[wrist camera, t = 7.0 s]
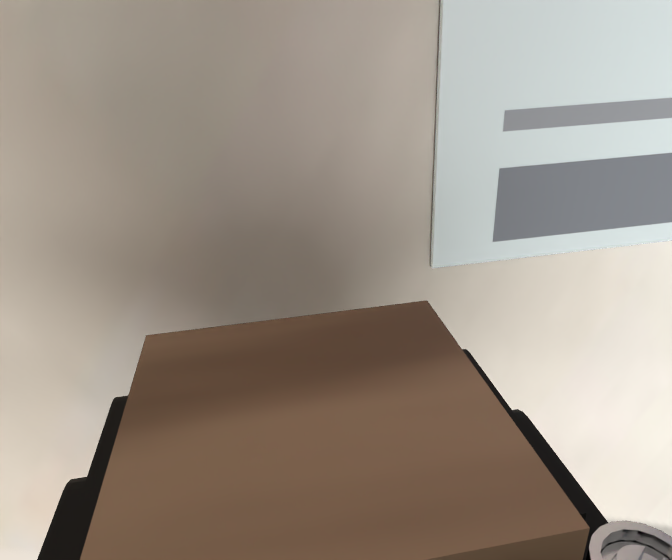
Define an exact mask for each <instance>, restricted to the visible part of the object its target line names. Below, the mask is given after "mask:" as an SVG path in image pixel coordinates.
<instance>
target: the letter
mask: <svg viewBox="0 0 672 560" xmlns="http://www.w3.org/2000/svg"><path fill="white" fill-rule="evenodd" d="M664 241H672V0H441V2H440V29H439V55H438V81H437V108H436V134H435V161H434V187H433V213H432V240H431V267H432V268H439V267H448V266H457V265H465V264H474V263H482V262H491V261H500V260H508V259H517V258H526V257H534V256H543V255H552V254H560V253H569V252H578V251H586V250H595V249H603V248H612V247H621V246H629V245H638V244H647V243H655V242H664Z"/></svg>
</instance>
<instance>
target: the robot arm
mask: <svg viewBox="0 0 672 560" xmlns="http://www.w3.org/2000/svg"><path fill="white" fill-rule="evenodd" d="M462 350H463V352H464V353H465V354H466V356H467V357H468V359H469V360H470V361H471V363H472V364H473V366H474V367H475V368H476V370H477V371H478V373H479V374H480V375H481V377H482V378H483V380H484V381H485V382H486V384H487V385H488V386H489V388H490V389H491V391H492V392H493V393H494V395H495V396H496V398H497V399H498V400H499V402H500V403H501V405H502V406H503V407H504V409H505V410H506V412H507V413H508V414H509V416H510V417H511V419H512V420H513V421H514V423H515V424H516V426H517V427H518V428H519V430H520V431H521V433H522V434H523V435H524V437H525V438H526V440H527V441H528V442H529V444H530V445H531V447H532V448H533V449H534V451H535V452H536V454H537V455H538V456H539V458H540V459H541V460H542V462H543V463H544V465H545V466H546V467H547V469H548V470H549V472H550V473H551V474H552V476H553V477H554V479H555V480H556V481H557V483H558V484H559V486H560V487H561V488H562V490H563V491H564V493H565V494H566V495H567V497H568V498H569V500H570V501H571V502H572V504H573V505H574V507H575V508H576V509H577V511H578V512H579V514H580V515H581V516H582V518H583V519H584V521H585V522H586V523H587V525H588V526H589V528H590V529H589V534H588V538H587V542H586V547H585V551H584V556H583V560H672V537H671V536H669V535H668V534H666V533H664V532H663V531H661V530H658V529H656V528H654V527H651V526H648V525H646V524H643V523H637V522H632V521H614V522H610V523H608V522H607V520H606V519H605V518H604V517H603V515H602V514H601V513H600V511H599V510H598V509H597V507H596V506H595V505H594V503H593V502H592V501H591V499H590V498H589V497H588V496H587V494H586V493H585V492H584V490H583V489H582V488H581V486H580V485H579V484H578V482H577V481H576V480H575V478H574V477H573V476H572V474H571V473H570V472H569V471H568V469H567V468H566V467H565V465H564V464H563V463H562V461H561V460H560V459H559V457H558V456H557V455H556V453H555V452H554V451H553V449H552V448H551V447H550V446H549V444H548V443H547V442H546V440H545V439H544V438H543V436H542V435H541V434H540V432H539V431H538V430H537V428H536V427H535V426H534V425H533V423H532V422H531V421H530V419H529V418H528V417H527V416H526V415H525V414H524V413H523V412H522V411H520V410H518V409H517V410H511V408H510V407H509V406H508V404H507V403H506V402H505V400H504V399H503V397H502V396H501V395H500V393H499V392H498V391H497V389H496V388H495V386H494V385H493V384H492V382H491V381H490V380H489V378H488V377H487V376H486V374H485V373H484V371H483V370H482V369H481V367H480V366H479V365H478V363H477V362H476V361H475V359H474V358H473V356H472V355H471V354H470V352H469V351H468V350H466V349H462ZM127 399H128V396H123V397H116V398H114V400H113V402H112V404H111V407H110V410H109V413H108V416H107V419H106V422H105V425H104V428H103V431H102V434H101V437H100V440H99V443H98V446H97V449H96V452H95V455H94V458H93V461H92V464H91V467H90V470H89V473H88V476H87V477H83V478H77V479H71V480H70V481H69V482H68V483H67V484H66V486H65V488H64V490H63V493H62V495H61V498H60V501H59V503H58V506H57V509H56V511H55V514H54V517H53V519H52V522H51V525H50V527H49V530H48V533H47V535H46V538H45V541H44V543H43V546H42V548H41V551H40V554H39V556H38V559H37V560H80V558H81V554H82V551H83V548H84V544H85V541H86V538H87V534H88V531H89V527H90V524H91V521H92V517H93V514H94V510H95V507H96V504H97V500H98V497H99V494H100V490H101V487H102V483H103V480H104V477H105V473H106V470H107V466H108V463H109V460H110V456H111V453H112V450H113V446H114V443H115V439H116V436H117V433H118V429H119V426H120V422H121V419H122V416H123V412H124V409H125V406H126V402H127Z"/></svg>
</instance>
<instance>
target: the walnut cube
mask: <svg viewBox="0 0 672 560" xmlns="http://www.w3.org/2000/svg"><path fill="white" fill-rule="evenodd" d="M589 529H590V528H589V526H588V525H587V523H586V522H585V521H584V519H583V518H582V516H581V515H580V514H579V512H578V511H577V509H576V508H575V507H574V505H573V504H572V502H571V501H570V500H569V498H568V497H567V495H566V494H565V493H564V491H563V490H562V488H561V487H560V486H559V484H558V483H557V481H556V480H555V479H554V477H553V476H552V474H551V473H550V472H549V470H548V469H547V467H546V466H545V465H544V463H543V462H542V460H541V459H540V458H539V456H538V455H537V454H536V452H535V451H534V449H533V448H532V447H531V445H530V444H529V442H528V441H527V440H526V438H525V437H524V435H523V434H522V433H521V431H520V430H519V428H518V427H517V426H516V424H515V423H514V421H513V420H512V419H511V417H510V416H509V414H508V413H507V412H506V410H505V409H504V407H503V406H502V405H501V403H500V402H499V400H498V399H497V398H496V396H495V395H494V393H493V392H492V391H491V389H490V388H489V386H488V385H487V384H486V382H485V381H484V380H483V378H482V377H481V375H480V374H479V373H478V371H477V370H476V368H475V367H474V366H473V364H472V363H471V361H470V360H469V359H468V357H467V356H466V354H465V353H464V352H463V350H462V349H461V347H460V346H459V345H458V343H457V342H456V340H455V339H454V338H453V336H452V335H451V333H450V332H449V331H448V329H447V328H446V326H445V325H444V324H443V322H442V321H441V319H440V318H439V317H438V315H437V314H436V312H435V311H434V310H433V308H432V307H431V306H430V304H429V303H428V301H419V302H411V303H403V304H395V305H387V306H379V307H371V308H363V309H355V310H347V311H339V312H331V313H323V314H315V315H307V316H299V317H291V318H283V319H275V320H267V321H259V322H251V323H243V324H235V325H227V326H219V327H211V328H203V329H195V330H187V331H178V332H170V333H162V334H154V335H146V338H145V341H144V345H143V348H142V351H141V355H140V358H139V362H138V365H137V368H136V372H135V375H134V378H133V382H132V385H131V389H130V392H129V395H128V399H127V402H126V406H125V409H124V412H123V416H122V419H121V422H120V426H119V429H118V433H117V436H116V439H115V443H114V446H113V450H112V453H111V456H110V460H109V463H108V466H107V470H106V473H105V477H104V480H103V483H102V487H101V490H100V494H99V497H98V500H97V504H96V507H95V510H94V514H93V517H92V521H91V524H90V527H89V531H88V534H87V538H86V541H85V544H84V548H83V551H82V554H81V558H80V560H583V556H584V551H585V547H586V542H587V538H588V534H589Z"/></svg>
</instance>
